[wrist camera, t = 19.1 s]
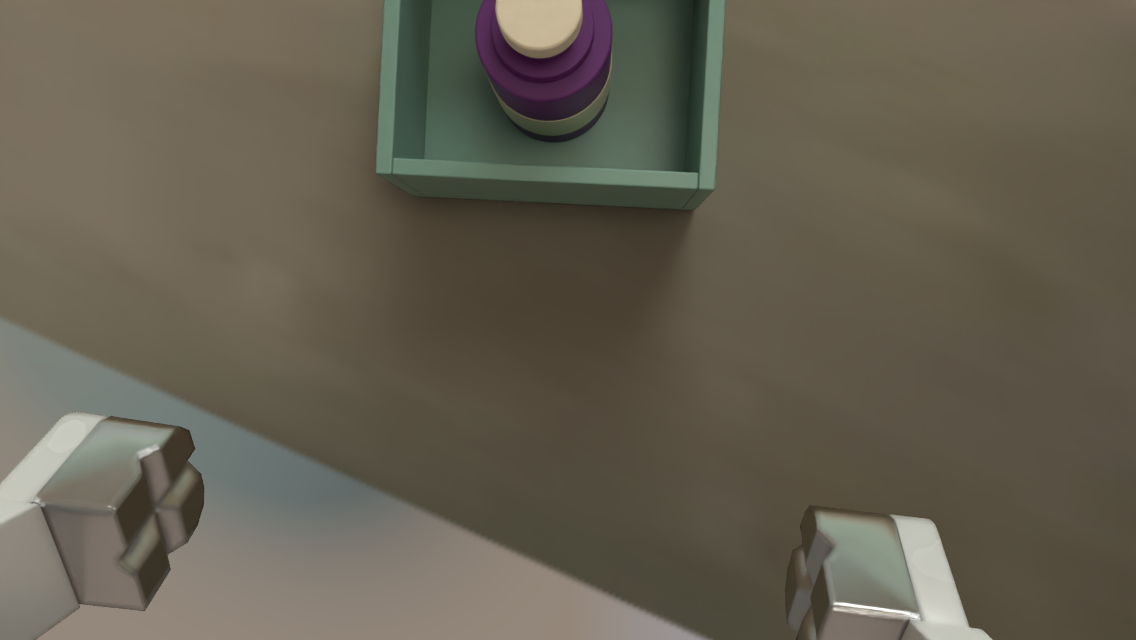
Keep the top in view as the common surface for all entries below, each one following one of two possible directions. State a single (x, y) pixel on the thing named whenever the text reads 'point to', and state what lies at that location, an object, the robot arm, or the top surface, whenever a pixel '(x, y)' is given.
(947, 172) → the top surface
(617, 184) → the bin
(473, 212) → the top surface
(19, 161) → the top surface
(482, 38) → the grape juice bottle
